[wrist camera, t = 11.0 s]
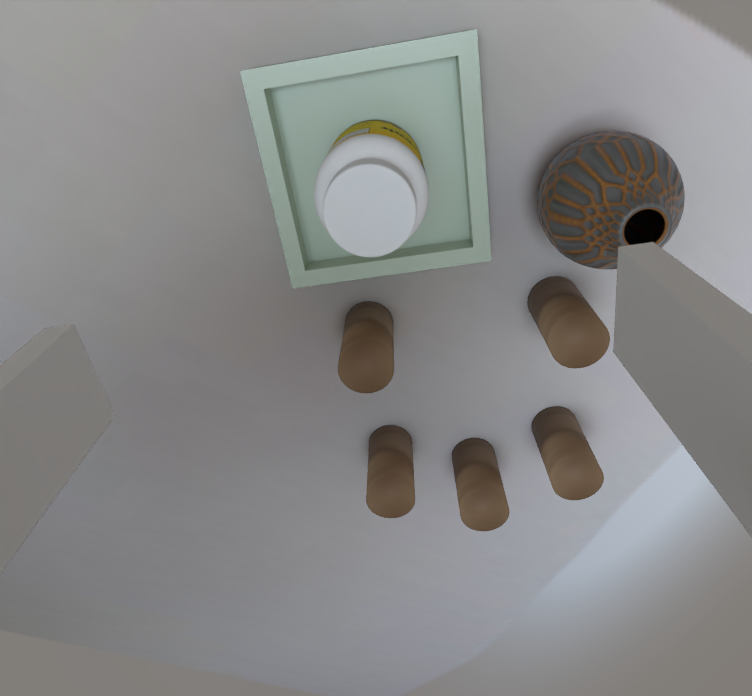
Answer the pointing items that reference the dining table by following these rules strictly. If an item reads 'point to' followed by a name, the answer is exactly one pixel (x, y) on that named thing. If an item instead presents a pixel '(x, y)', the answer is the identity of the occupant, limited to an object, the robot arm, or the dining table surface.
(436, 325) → the dining table surface
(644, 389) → the robot arm
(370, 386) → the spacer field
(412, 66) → the tray
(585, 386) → the dining table surface
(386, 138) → the supplement bottle
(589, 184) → the vase
